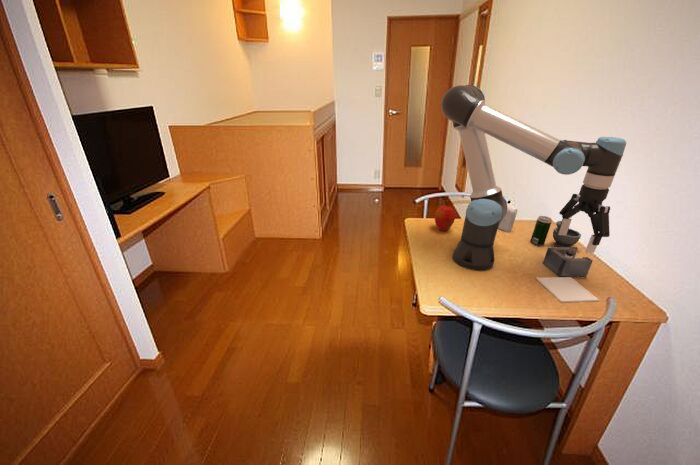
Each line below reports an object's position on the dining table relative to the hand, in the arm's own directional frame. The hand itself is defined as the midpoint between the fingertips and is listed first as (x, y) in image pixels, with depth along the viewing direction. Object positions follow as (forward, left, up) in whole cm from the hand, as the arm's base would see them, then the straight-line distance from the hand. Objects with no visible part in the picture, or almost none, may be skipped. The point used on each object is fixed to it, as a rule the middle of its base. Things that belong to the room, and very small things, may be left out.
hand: (575, 243), depth 114 cm
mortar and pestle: (+12, +18, -12) cm, 25 cm away
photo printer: (-5, +37, -12) cm, 39 cm away
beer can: (+3, +21, -12) cm, 24 cm away
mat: (-8, -12, -12) cm, 18 cm away
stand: (0, 0, -12) cm, 12 cm away
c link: (0, 0, -12) cm, 12 cm away
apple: (-34, +36, -12) cm, 51 cm away
